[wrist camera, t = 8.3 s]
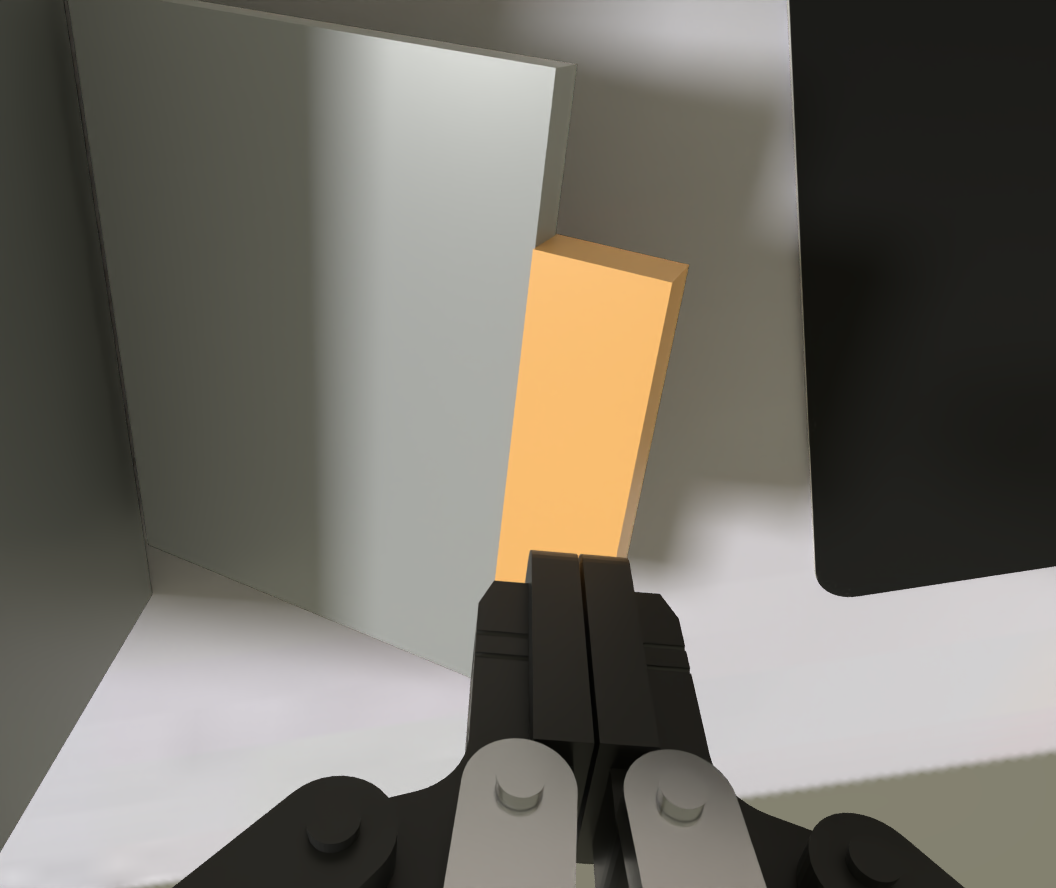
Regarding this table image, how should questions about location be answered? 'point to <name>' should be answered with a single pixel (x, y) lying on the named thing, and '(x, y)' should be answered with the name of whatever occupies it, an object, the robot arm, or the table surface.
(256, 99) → the side door
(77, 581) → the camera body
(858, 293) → the tablet
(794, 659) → the table surface
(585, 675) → the robot arm
